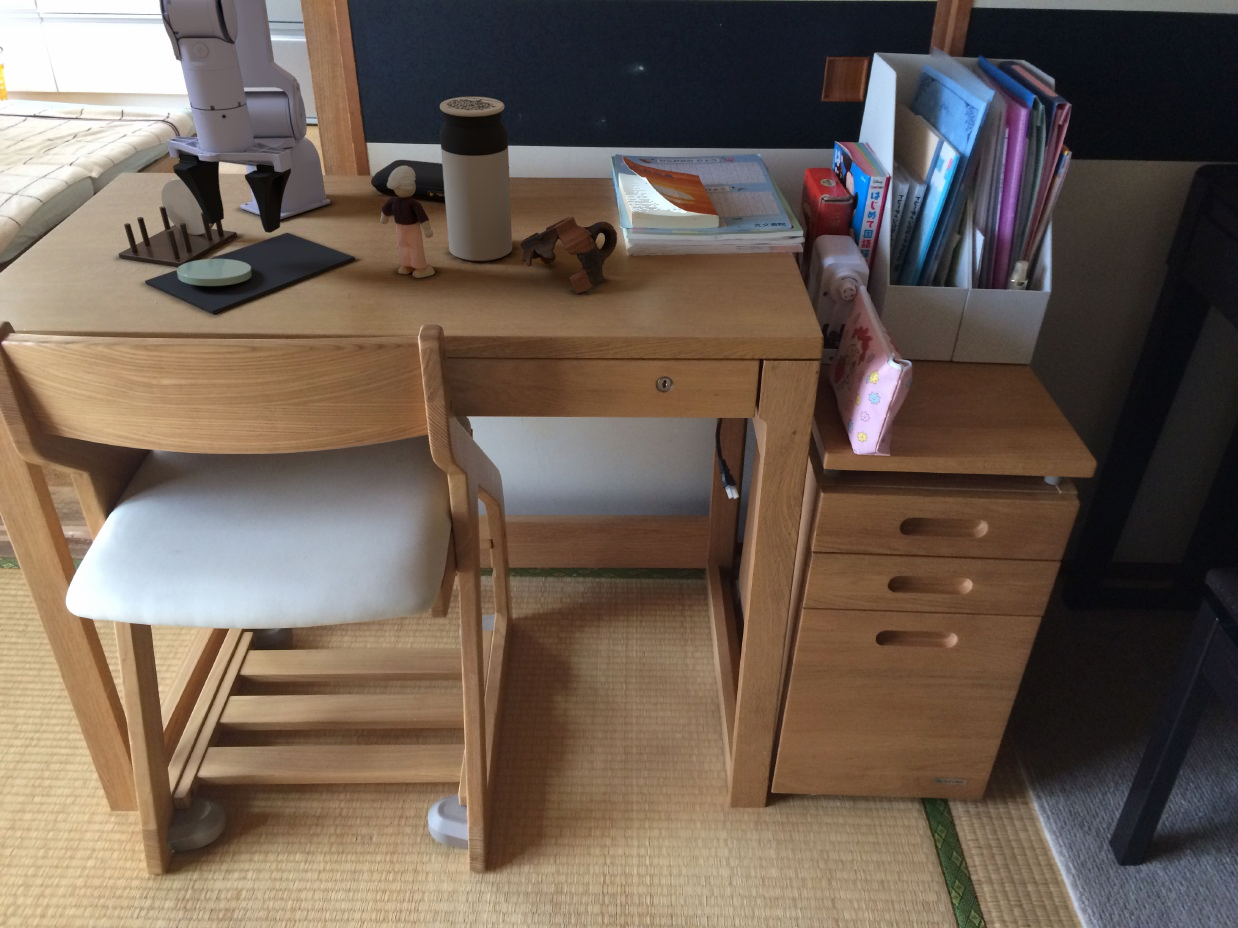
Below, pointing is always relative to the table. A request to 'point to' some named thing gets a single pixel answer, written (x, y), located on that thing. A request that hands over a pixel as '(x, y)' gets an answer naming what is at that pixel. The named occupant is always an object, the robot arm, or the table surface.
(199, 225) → the cream saucer
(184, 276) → the pale green plate
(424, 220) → the grandmother figurine
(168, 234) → the plate rack
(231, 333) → the table surface
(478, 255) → the travel mug
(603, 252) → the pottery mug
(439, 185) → the carrying case
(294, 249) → the charcoal mat
